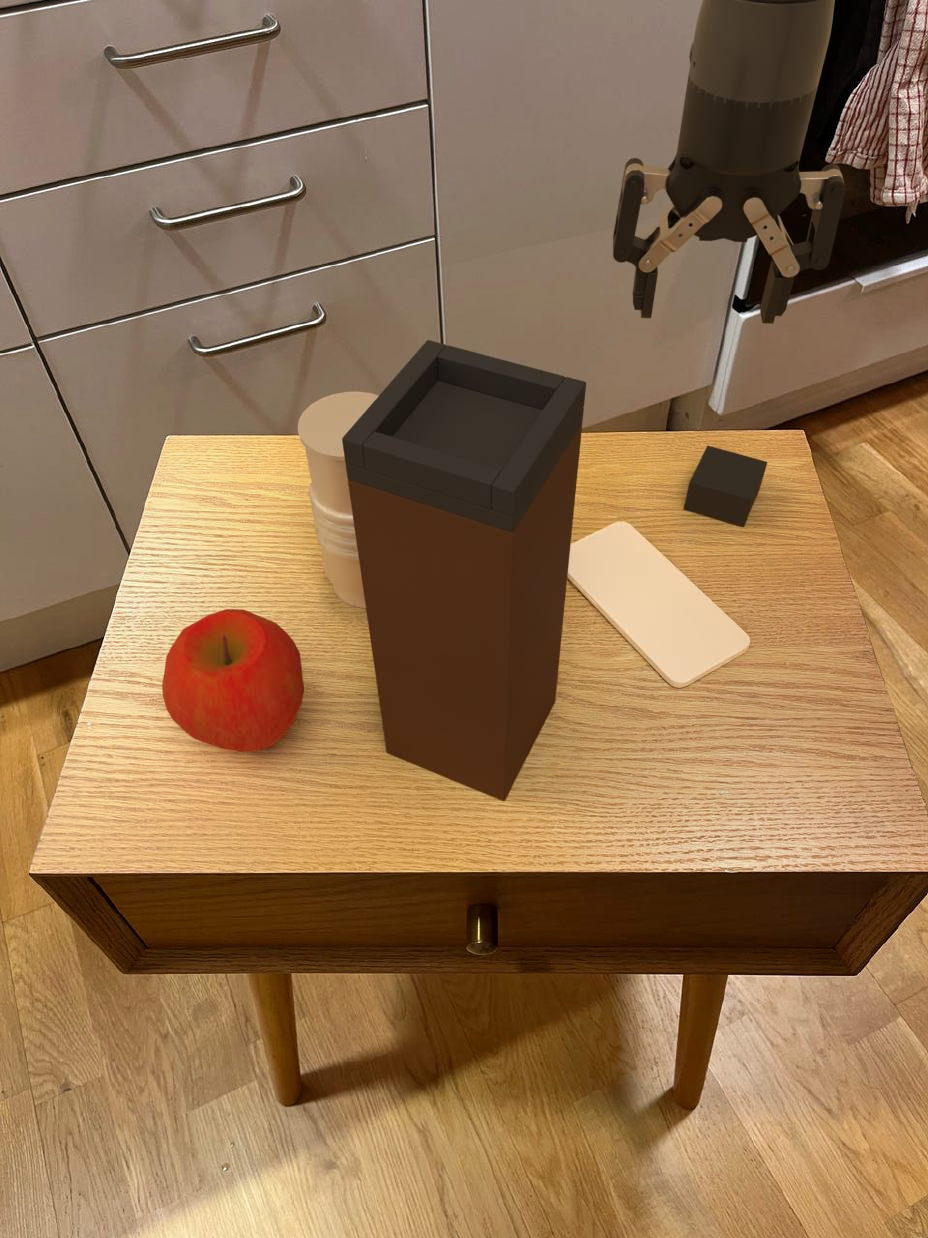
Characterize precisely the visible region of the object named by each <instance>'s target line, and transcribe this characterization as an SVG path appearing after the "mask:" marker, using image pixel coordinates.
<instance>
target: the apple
mask: <svg viewBox="0 0 928 1238" xmlns="http://www.w3.org/2000/svg"><path fill="white" fill-rule="evenodd" d="M163 671H164V673H163V677H162V684H161V691H162V698H163V702H164V706H165V710H166V711H167V713H168V715H169V716H170V718H171V720H172V721H173V722H174V723H176V725H177V726H178V727H179V728H180V729H181V730H182V731H184V732H185V733H186V734H188V735H189V736H190V737H191V738H192V739H195V740H197V741H199V742H201V743H203V744H207V745H210V746H213V747H215V748H218V749H223V750H227V751H231V752H232V751H233V752H239V753H240V752H241V753H247V752H255V751H259V750H260V751H261V750H264V749H266V748H269V747H271V746H273V745H274V744H275V743H277V742H278V741H279V740H280V739H281V738H283V737H284V736H285V734H287V732H288V731H289V729H290V727H291V726H292V725H293V723H294V721H295V719H296V717H297V715H298V713H299V711H300V708H301V706H302V702H303V698H304V694H305V686H304V677H303V667H302V660H301V652H300V651H299V648H298V646H297V645H296V643H295V641H294V640H293V638H292V637H291V636H290V634H289V633H288V632H287V631H285V629H283V628H282V626H280V624H278V623H277V622H274V621H272V620H270V619H268V618H265V617H263V616H261V615H259V614H256V613H253V612H250V611H248V610H246V609H241V608H239V609H238V608H226V609H223V610H220V611H216V612H212V613H209V614H207V615H206V616H204V617H202V618H200V619H199V620H197V621H195V622H193V623H192V624H190V625H188V626H186V627H184V628H183V629H182V630H181V631H180V633H179V634H178V636H177V638H176V639H175V640H174V641H173V643H172V645H171V647H170V648H169V651H168V652H167V654H166V657H165V664H164V670H163Z"/></svg>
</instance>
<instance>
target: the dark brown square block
mask: <svg viewBox="0 0 928 1238" xmlns="http://www.w3.org/2000/svg"><path fill="white" fill-rule="evenodd" d="M767 466H768V461H766V460H762V459H758V458H756V457H752V456H748V455H744V454H740V453H737V452H733V451H729V450H726V449H722V448H718V447H715V446H711V445H706V448H705V449H704V452H703V453H702V455H701V457H700V460H699V461H698V464H697V466H696V468H695V470H694V472H693V474H692V476H691V478H690V480H689V481H688V487H687V491H686V497H685V501H684V504H683V505H684V506H683V510H684V511H688V512H690V513H695V514H698V515H700V516H704V517H708V518H711V519H714V520H717V521H721V522H723V523H727V524H730V525H734V526H738V527H740V528H744V527H745V525H746V523H747V521H748V518H749V516H750V513H751V511H752V509H753V506H754V503H755V501H756V499H757V497H758V494H759V492H760V489H761V486H762V483H763V479H764V476H765V472H766V470H767Z"/></svg>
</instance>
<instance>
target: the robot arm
mask: <svg viewBox="0 0 928 1238" xmlns="http://www.w3.org/2000/svg"><path fill="white" fill-rule="evenodd" d="M835 2H836V0H702V1H701V4H700V8H699V12H698V16H697V19H696V24H695V30H694V36H693V41H692V43H691V46H690V50H689V70H688V76H687V83H686V89H685V95H684V103H683V109H682V115H681V122H680V123H681V124H680V127H679V128H680V130H679V136H678V143H677V150H676V153H675V155H674V158H673V160H672V161H671V163H670V164H669V166H668V167H667V168H666V167H656V166H645V165H644V162H643V161H642V160H641V159H640V158H638V157H632V158H630V159H628V160H627V161H626V163H625V165H624V169H623V170H624V171H623V176H622V182H621V188H620V194H619V198H618V205H617V210H616V216H615V223H614V228H613V235H612V256H613V259H614V260H615V262H617V263H626V262H627V263H629V264H631V265H633V266H634V267H635V272H634V279H633V286H632V306H633V308H634V311H640V319H652V316H653V308H654V301H655V295H656V289H657V281H658V274H659V271H658V270H659V269H658V267H659V265H660V264H661V263H662V262H663V261H664V260H665V259H666V258H667V257H668V256H670V254H672V253H675V252H678V251H679V250H680V249H681V248H682V247H683V246H684V245H685V244H686V243H687V242H688V241H689V240H690V239H691V238H692V237H694V236H695V237H697V238H698V241H699V242H713V241H718V240H726V241H727V240H728V241H731V242H734V243H748V240H749V239H751V238H754V237H756V236H758V238H759V239H760V241H761V243H762V245H763V246H764V248H765V250H766V251H767V253H768V255H769V256H771V258H772V260H771V261H770V264H769V265H770V266H769V269H768V273H767V278H766V283H765V287H764V290H763V293H762V298H761V303H760V309H759V310H760V311H759V312H760V319H761V323H762V324H769V325H770V324H771V325H772V324H774V322H775V319H776V317H782V316H783V315H784V313H785V312H786V311H787V307H788V303H789V300H790V296H791V292H792V289H793V285H794V281H795V278H796V276H797V275H798V274H799V273H800V272H802V271H805V270H809V269H813V270H815V271H821V270H823V269H826V268H827V267H828V266H829V264H830V261H831V257H832V251H833V247H834V243H835V238H836V233H837V230H838V226H839V221H840V217H841V213H842V207H843V205H844V204H843V203H844V200H845V195H846V190H847V187H846V184H845V180H844V178H843V174H842V172H841V169H840V167H839V165H837V164H835V163H828V164H826V165H824V167H822V169H821V170H820V171H800V169H799V168H800V167H799V165H800V160H801V155H802V152H803V149H804V148H803V147H804V144H805V139H806V136H807V132H808V128H809V123H810V120H811V116H812V111H813V108H814V103H815V100H816V95H817V91H818V86H819V83H820V79H821V76H822V71H823V66H824V63H825V59H826V54H827V51H828V47H829V43H830V38H831V33H832V27H833V26H832V25H833V20H834V10H835ZM660 190H665V192H666V195H667V196H668V199H669V200H670V202H671V203H672V204H670V206H668V208H667V209H666V210H665V211H664V212H663V213H662V214H661V216H660V217H659V219H658V221H657V223H656V224H655V225H654V226H653V227H652V228H651V229H650V230H649V231H648V232H647V233H646V235H644V237H642V238H641V237H639V236H637V235H636V232H637V226H638V220H639V216H640V210H641V205H648V204H650V203H651V202H652V201H653V199H654V197H655V194H656V193H657V192H659V191H660ZM800 194H803V195H805V200H806V203H807V206H808V208H809V209H811V210H812V211H811V216H810V217H811V218H810V222H809V227H808V232H807V237H806V241H802V242H799V243H798V242H797V243H793V241H792V239H791V237H790V236H789V233H788V232H787V230H786V228H785V225H784V224H783V221H782V219H781V216H780V214H782V212H783V211H785V209H787V208H788V207H789V206H790V204H791V203H793V202H794V201H795V200H796V199H797V197H798V196H799V195H800Z"/></svg>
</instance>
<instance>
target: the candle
mask: <svg viewBox="0 0 928 1238" xmlns="http://www.w3.org/2000/svg"><path fill="white" fill-rule="evenodd" d="M378 396H379V394H378V395H377V394H374V393H373V392H365V391H343V392H338V393H332V394H330V395H327V396H325V397H321V398H320V399H317V400H316V401H315V402H313V403H311V404H310V405H309V406H308V407H307V408H306V409H305V410H303V412H302V413H301V414H300V417H299V419H298V422H297V434H298V437H299V440H300V442H301V444H302V445H303V447H304V449H305V454H306V460H307V465H308V471H309V477H310V483H309V488H308V497H309V501H310V507H311V508H310V509H311V512H312V518H313V524H314V527H315V534H316V539H317V542H318V543H319V545H320V546H321V559H322V568H323V572H324V574H325V576H326V578H327V579H328V581H329V582H330V583H331V585H332V591H333V592H334V593H335V595H336V597H338V599H339V600H341V601H342V602H343V603H345V604H347V605H349V606H352V607H356V608H362V609H366V605H365V598H364V591H363V584H362V577H361V570H360V563H359V556H358V549H357V542H356V535H355V528H354V521H353V514H352V507H351V500H350V493H349V486H348V478H347V471H346V463H345V457H344V450H343V443H342V438H343V437H344V435H345V434H346V433H347V432H348V431H349V430H350V428H351V427H352V426H353V425H354V424H355V423H356V422H357V420H358V419H359V418H360V417H361V416H362V415H363V414H364V412H365V411H366V410H367V409H368V408H369V407H370V405H371V404H372V403H373V402H374V401H375V400H376V399H377V397H378Z"/></svg>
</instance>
